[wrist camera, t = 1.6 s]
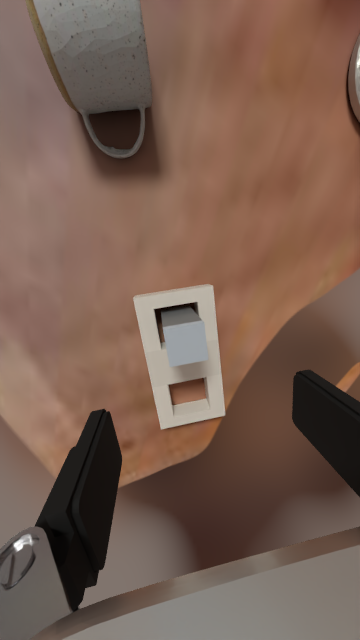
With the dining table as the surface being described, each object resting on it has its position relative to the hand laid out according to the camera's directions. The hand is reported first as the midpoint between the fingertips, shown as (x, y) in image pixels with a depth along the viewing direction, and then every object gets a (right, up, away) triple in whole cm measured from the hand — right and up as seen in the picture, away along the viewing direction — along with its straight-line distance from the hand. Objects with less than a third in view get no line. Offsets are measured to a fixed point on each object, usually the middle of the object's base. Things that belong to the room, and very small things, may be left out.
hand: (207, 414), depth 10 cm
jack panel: (-1, -1, +19) cm, 19 cm away
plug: (-2, +4, +18) cm, 19 cm away
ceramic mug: (-8, +28, +11) cm, 31 cm away
